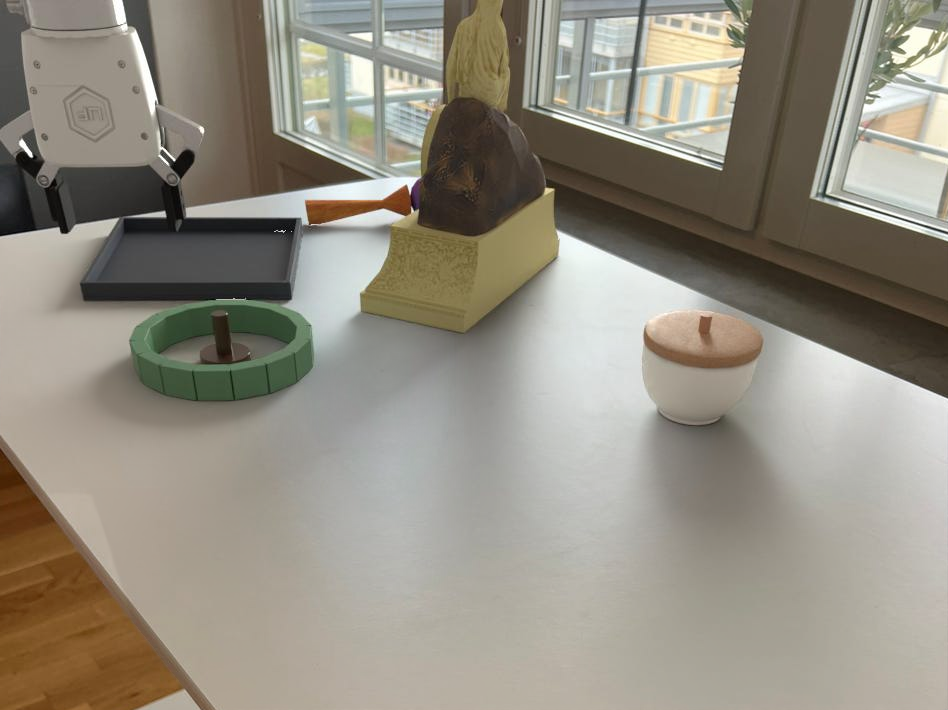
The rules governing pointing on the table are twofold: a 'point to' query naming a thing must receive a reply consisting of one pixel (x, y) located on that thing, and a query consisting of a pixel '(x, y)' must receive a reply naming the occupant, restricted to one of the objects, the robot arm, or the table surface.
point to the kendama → (362, 206)
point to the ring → (222, 377)
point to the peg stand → (223, 344)
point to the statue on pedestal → (469, 197)
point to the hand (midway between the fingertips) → (122, 228)
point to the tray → (196, 259)
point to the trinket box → (698, 364)
